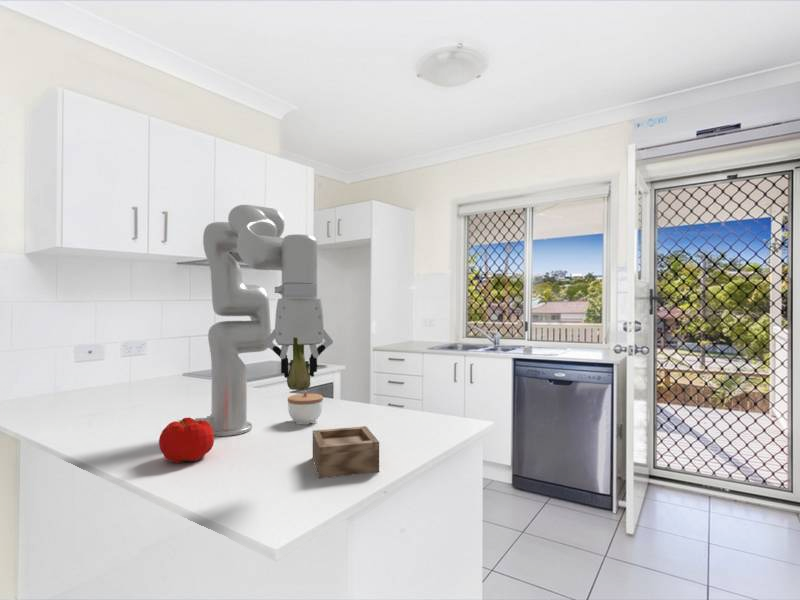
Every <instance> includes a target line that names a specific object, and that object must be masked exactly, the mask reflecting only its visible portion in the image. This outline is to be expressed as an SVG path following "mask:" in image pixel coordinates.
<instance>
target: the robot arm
mask: <svg viewBox="0 0 800 600" xmlns="http://www.w3.org/2000/svg"><path fill="white" fill-rule="evenodd" d="M227 220H228V221H215V222H211V223H209V224H207V225H206V226H205V228H204V231H203V237H202V238H203V239H202V245H203V249H204V250H203V251H204V254H205V257H206V260H207V263H208V266H209V270H210V281H211V284H210V285H211V303H212V308H213V312H214V313H215V314H216V315H217V316H221V317H249V318H250V320H224V321H219V322H215V323H214V324H212V325H211V326H210V328H209V329H208V333H207V334H208V335H207V337H208V338H207V339H208V345H209V352H210V353H209V354H210V360H211V361H210V362H211V412H210V413H211V414H210V415H209V416H206V417H195V418H194V420H196V422H197V420H198V421H199V420H204V421H207V422H208V423H209V424H210V425H211V428H212V430H213V436H215V437H226V436H227V437H228V436H235V435H236V436H237V435H241V434H244V433H248V432H249V431H251V430H252V429H253V423H252V422H250V421H248V420H247V416H248V415H247V403H248V402H247V397H248V396H247V395H248V394H247V391H248V389H247V382H248V379H247V378H248V377H247V375H248V374H247V373H248V372H247V371H248V370H247V367H246V364H245V363H244V361H243V360H242V359H241V358H240V356H239V354H247V353H259V352H264V351H266V350H268V349H270V350H271V351H272V352H274V353H275V354H276V355H277V356H278V357H279V358H280V374H284V375H283V376H284V378H285V379H287V377H288V373H289V358H288V355H287V353H288V350H289V347H290V346H293V344H294V341H293V338H294V337H296V338H297V339H298V342H297V344H298V345H304V346H309V349H310V353H311V354H310V357H309V360H308V361H309V363H308V364H309V365H308V366H309V368H308V371H309V374H310V378H311V377H313V378H314V377H315V373H317V371H318V358H319V356H321V354H322V353H323V352H324V351H326V349H327V348H329V347H330V346H332V344H333V343H334V341H333V339H332V338H331V336H330V335H329V334H328V333H327V332H326V330H325V329H324V314H323V313H324V312H323V303H322V300H321V298H318V242H317V239H316V238H315V237H314V236H312V235H308V234H298V233H297V234H288V235H286V236H284V237H282V235H283V232H284V230H285V219H284V216H283V214H282V213H281V212H280V211H279V210H278V209H275V208H271V207H265V206H259V205H254V204H253V205H252V204H240V205H236V206H234V207H233V208H232V209H231V210H230V211H229V213H228V217H227ZM230 253H236V254H238V256H239V258H240V259H241V260H242V262H244V264H246V265H247V266H249V267H250V268H251V269H255V270H260V271H262V270H263V271H280V272H281V285H278V286H274V294H280V295H281V298H278V299H277V302H276V303H277V304H276V309H275V321H274V322H275V323H274V330H272V328H271V327H272V326H271V312H270V311H271V310H270V301H269V295H268V292H267V291H266V289H265V288H264V287H263V286H261V285H259V284H258V285H256V284H244V282H243V278H242V277H243V276H242V275H243V274H242V273H243V272H242V268H241V266H240V264H239V263H238V261H237V259H235V257H233V256H232V254H230ZM273 341H275V342H276V344H278V345H280V346H281V348H280V347H279V346H278V345H276V344H275V343H274V342H273ZM317 345H319V346H318V347H317Z"/></svg>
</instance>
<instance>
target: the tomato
mask: <svg viewBox="0 0 800 600" xmlns="http://www.w3.org/2000/svg"><path fill="white" fill-rule="evenodd" d="M159 435H160V436H159V439H158V447H159V450H160V452H161V454H162V455H163V457H164V458H165V459H166V460H167V461H169V462H172V463H175V464H176V463H177V464H182V463H183V462H186V461H187V462H195V461H198V460H199V459H201V458H203V457H204V456H206V455H207V454H208V453H209V452H210V451H211V450H212V448H213V447H214V443H215V437H214V436H213V430H212V428H211V425H210V424H209V423H208V422H207V421H204V420H199V421H198V420H197V422H196V420H195V418H191V416H190V417H184V418H182V419H181V420H179V419H177V421H172V422H169V423H168V424H167V425H166V426H165V428H163V430H162V431H161V433H160V434H159Z"/></svg>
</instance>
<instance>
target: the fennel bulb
mask: <svg viewBox="0 0 800 600" xmlns="http://www.w3.org/2000/svg"><path fill="white" fill-rule="evenodd" d="M293 341H294V344H293V345H292V363H291V366H290V368H289V369H288V377H287V378H286V383H287V384H286V385H287V387H288V388H289V390H293V391H303V390H307V389H309V388H310V386H311V376H310V374H309V368H308V365H307V363H306V357H305V345H298V344H297V342H298V339H297V338H296V337H294V338H293Z"/></svg>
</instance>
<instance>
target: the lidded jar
mask: <svg viewBox="0 0 800 600" xmlns="http://www.w3.org/2000/svg"><path fill="white" fill-rule="evenodd" d="M323 401H324V396H323V395H321V394H318V393H308V391H307V390H306V391H303V393H297V394H293V395H290V396H288V397H287V406H288V407H287V409H288V413H289V416H290V418H291V419H292V421H294V422H296V423H298V424H297V425H310V424H309V423H312V424H314V423H316V421H317V420H318V419H319V417H320V416H321V413H322V409H323ZM313 422H314V423H313ZM296 423H295V424H296Z"/></svg>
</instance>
